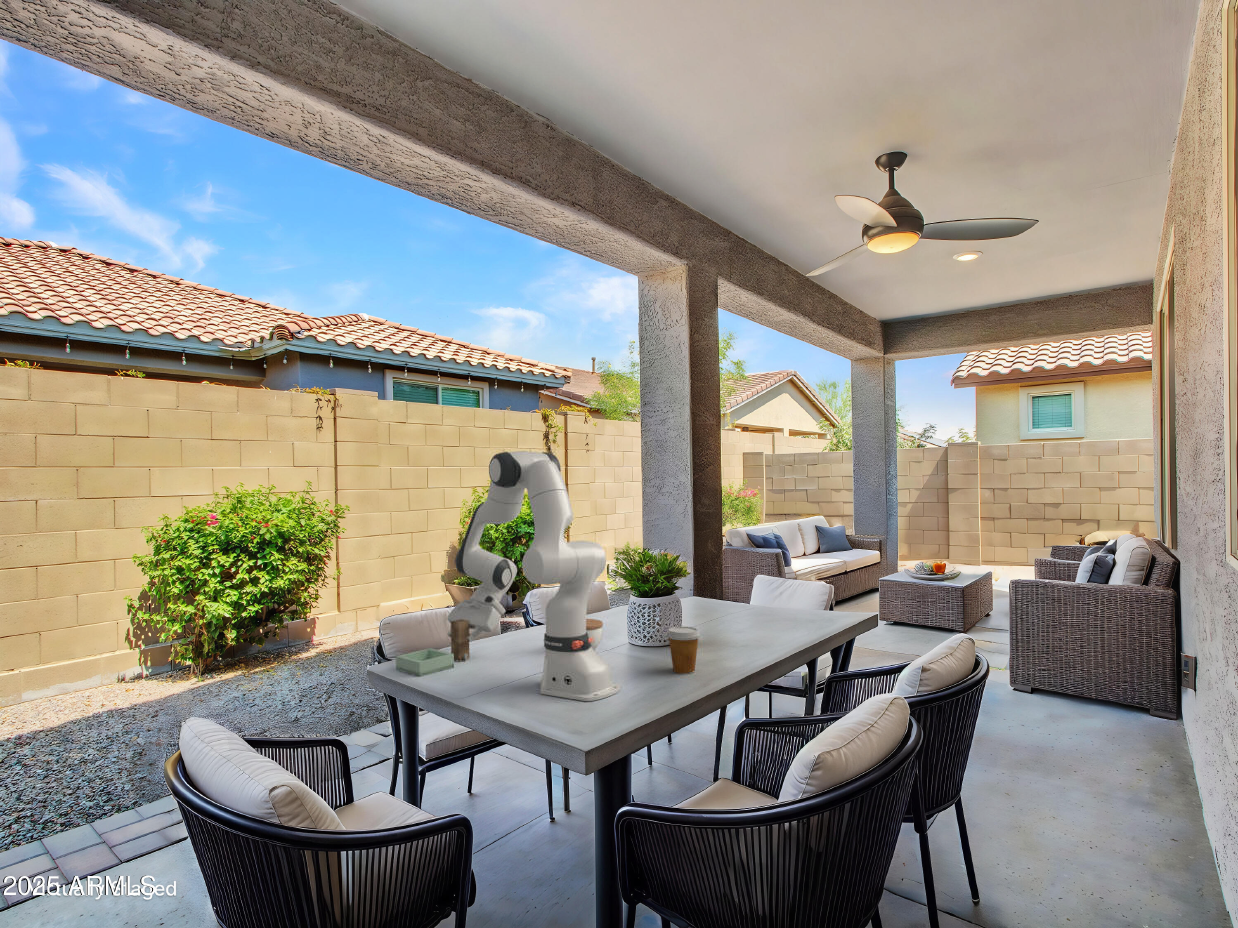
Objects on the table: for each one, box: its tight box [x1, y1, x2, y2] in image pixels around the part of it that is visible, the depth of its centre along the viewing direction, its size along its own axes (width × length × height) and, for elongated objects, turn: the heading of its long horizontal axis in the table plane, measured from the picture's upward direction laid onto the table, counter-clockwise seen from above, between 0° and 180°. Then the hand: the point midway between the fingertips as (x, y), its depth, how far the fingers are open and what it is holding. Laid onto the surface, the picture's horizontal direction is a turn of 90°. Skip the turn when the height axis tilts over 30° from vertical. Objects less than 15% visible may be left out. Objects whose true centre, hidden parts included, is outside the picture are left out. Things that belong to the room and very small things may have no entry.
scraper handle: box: [450, 619, 470, 662], centre depth 206 cm, size 6×4×12 cm, turn 52°
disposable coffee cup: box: [666, 626, 701, 674], centre depth 190 cm, size 10×10×12 cm
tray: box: [395, 647, 455, 677], centre depth 196 cm, size 12×12×4 cm
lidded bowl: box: [586, 618, 604, 651], centre depth 216 cm, size 13×13×11 cm
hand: (459, 638), depth 206 cm, fingers open, 8 cm apart
